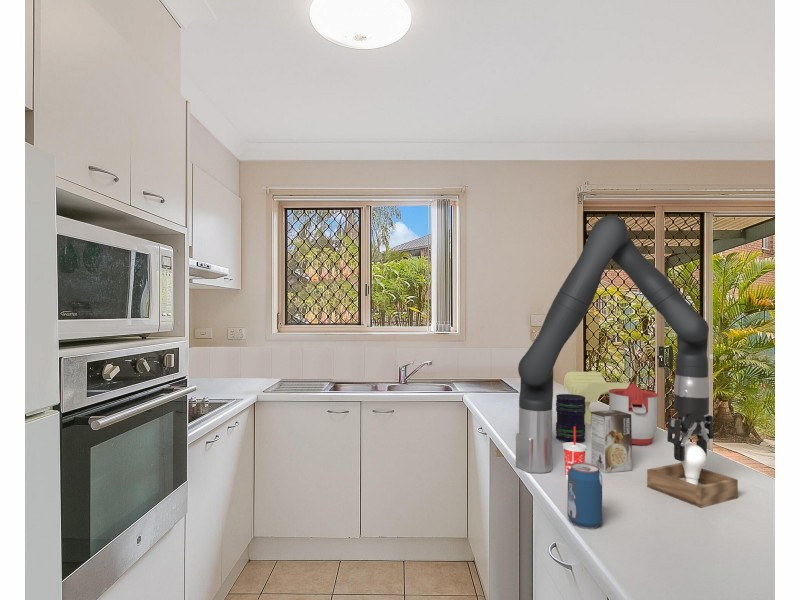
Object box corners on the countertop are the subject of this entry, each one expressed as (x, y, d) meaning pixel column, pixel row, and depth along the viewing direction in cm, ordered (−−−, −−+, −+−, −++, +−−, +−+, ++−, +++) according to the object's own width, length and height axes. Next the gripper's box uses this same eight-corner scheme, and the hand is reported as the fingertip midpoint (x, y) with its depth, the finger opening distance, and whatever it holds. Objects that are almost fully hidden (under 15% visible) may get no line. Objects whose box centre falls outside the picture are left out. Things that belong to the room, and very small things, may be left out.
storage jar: (581, 435, 173) (581, 394, 173) (589, 443, 163) (589, 399, 163) (552, 435, 174) (553, 393, 174) (559, 442, 164) (559, 398, 164)
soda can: (606, 522, 103) (607, 466, 103) (595, 533, 98) (595, 474, 98) (575, 513, 108) (575, 459, 108) (562, 523, 102) (562, 466, 103)
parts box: (700, 507, 111) (700, 488, 111) (647, 486, 124) (647, 469, 124) (737, 498, 117) (737, 479, 117) (682, 479, 130) (682, 462, 130)
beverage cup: (588, 477, 130) (588, 425, 131) (584, 484, 125) (584, 430, 125) (565, 473, 134) (565, 422, 134) (560, 480, 128) (560, 427, 128)
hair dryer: (563, 411, 213) (563, 371, 214) (600, 412, 212) (600, 372, 213) (585, 428, 183) (585, 382, 184) (628, 429, 182) (628, 382, 183)
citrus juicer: (614, 447, 159) (614, 386, 160) (604, 433, 176) (605, 379, 176) (665, 450, 156) (666, 389, 156) (651, 436, 172) (651, 381, 173)
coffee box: (616, 463, 142) (617, 409, 142) (632, 471, 136) (632, 414, 136) (590, 466, 140) (590, 411, 140) (605, 473, 134) (605, 415, 134)
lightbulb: (680, 481, 125) (680, 439, 125) (708, 487, 121) (708, 443, 121) (676, 488, 120) (676, 444, 121) (704, 494, 117) (704, 449, 117)
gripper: (695, 389, 127) (694, 450, 127) (658, 392, 121) (657, 457, 121) (724, 394, 120) (723, 459, 120) (687, 398, 114) (686, 466, 114)
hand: (690, 458), depth 121 cm, fingers open, 8 cm apart
